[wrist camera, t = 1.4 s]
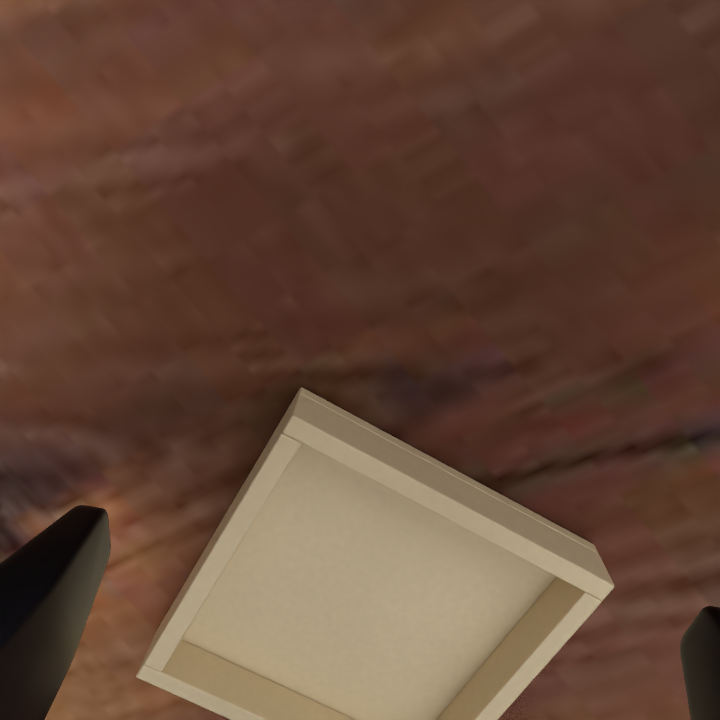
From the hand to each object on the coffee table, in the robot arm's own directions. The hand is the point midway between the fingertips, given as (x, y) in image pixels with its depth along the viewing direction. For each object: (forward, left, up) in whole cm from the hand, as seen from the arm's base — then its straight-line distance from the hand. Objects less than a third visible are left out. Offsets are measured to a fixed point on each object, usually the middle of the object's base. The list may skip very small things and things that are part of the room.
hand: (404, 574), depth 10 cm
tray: (-11, -5, -15) cm, 19 cm away
